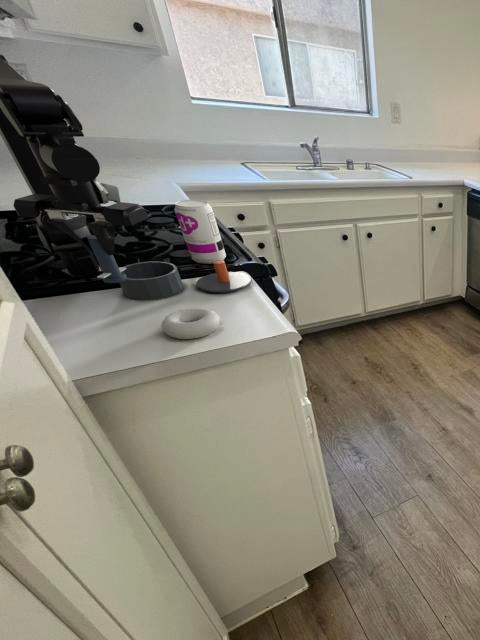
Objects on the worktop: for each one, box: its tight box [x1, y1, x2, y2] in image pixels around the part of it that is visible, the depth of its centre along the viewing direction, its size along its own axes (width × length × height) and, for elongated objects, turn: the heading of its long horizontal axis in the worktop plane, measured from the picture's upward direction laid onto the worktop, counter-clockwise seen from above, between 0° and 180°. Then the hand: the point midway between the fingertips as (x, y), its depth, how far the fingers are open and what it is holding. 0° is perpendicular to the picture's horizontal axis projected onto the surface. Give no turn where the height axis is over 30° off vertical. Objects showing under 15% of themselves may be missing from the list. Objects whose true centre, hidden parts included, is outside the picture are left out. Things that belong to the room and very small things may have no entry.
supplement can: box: [174, 199, 227, 265], centre depth 111 cm, size 8×8×15 cm
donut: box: [161, 307, 221, 340], centre depth 86 cm, size 10×4×10 cm
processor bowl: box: [119, 260, 185, 301], centre depth 97 cm, size 11×11×5 cm
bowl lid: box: [196, 260, 253, 293], centre depth 103 cm, size 12×12×6 cm
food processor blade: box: [87, 235, 127, 284], centre depth 84 cm, size 7×4×9 cm, turn 6°
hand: (103, 253), depth 84 cm, fingers closed on food processor blade, 2 cm apart
